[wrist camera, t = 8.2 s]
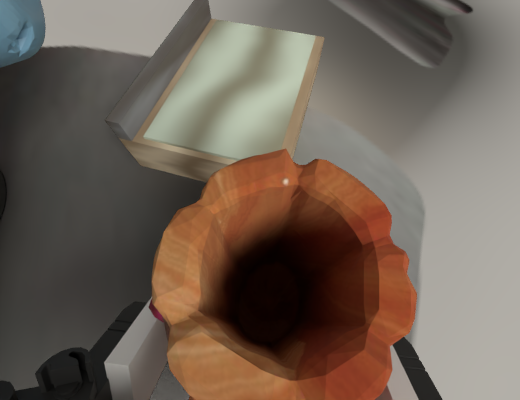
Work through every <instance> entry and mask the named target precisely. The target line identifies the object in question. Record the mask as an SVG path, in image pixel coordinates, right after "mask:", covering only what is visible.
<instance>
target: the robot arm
mask: <svg viewBox="0 0 520 400" xmlns="http://www.w3.org/2000/svg"><path fill="white" fill-rule="evenodd" d="M44 38H45V18H44V13H43V8H42V5H41V1H40V0H0V68H1V67H4V66H7V65H10V64H13V63H17V62H20V61H23V60H26V59H28V58H30V57H32V56H33V55H35V54H36V53H37V52H38V51H39V49H40V48H41V46H42V44H43V42H44ZM5 199H6V186H5V181H4V178H3V176H2V174H1V172H0V218H1V215H2V212H3V209H4V205H5ZM151 299H152V297H151ZM151 299H150V300H149V301H148V303H143V302H134V303H132V304H131V305H130V306H128V307H127V308H125V309H124V310H123V311H122V312H121V313H120V315H119V316H118V317H117V318H116V320H115V322H113V323H112V324H111V326H110V327H109V328H108V331H106V332H105V333H104V334H103V335H102V337H101V338H100V339H99V340H98V341H97V343H96V344H95V345H94V346H93V348H92V349H91V350H90V351H89V352H88V350H86V349H84V348H81V347H80V348H70V349H67V350H64V351H61V352H59V353H57V354H56V355H54V356H52V357H50V358H49V359H48V360H47V361H46V362H45V363H43V364H42V365H41V367H40V368H39V369H38V371H37V372H36V373H35V375H36V378H37V381H38V384H39V387H34V388H28V389H23V390H18V391H15V390H14V387H13V386H12V384H11V383H10V382H7V381H0V400H149V399H150V397H151V394H152V392H153V390H154V388H155V386H156V384H157V382H158V380H159V377H160V375H161V373H162V371H163V369H164V367H165V365H166V363H167V360H168V358H167V348H168V340H167V335H166V330H165V325H164V323H163V322H162V321H160V320H158V319H157V318H155V317H154V315H153V314H152V312H151V311H150V309H149V308H148V307H149V304H150V301H151ZM390 351H391V360H392V369H393V370H392V373H391V376H390V378H389V381H388V383H387V385H386V387H385V389H384V391H383V392H382V394H381V395H380V396H379V397H377V398H376V399H375V400H442V398H441V396H440V395H439V393H438V391H437V389H436V387H435V385H434V384H433V382H432V380H431V378H430V377H429V375H428V373H427V372H426V371H425V368H424V366H423V364H422V362H421V361H420V360H419V357H418V355H417V354H416V352H415V350H414V348H413V346H412V345H411V344H410V343H409V342H408V341H407V340H406V339H405V338H404V337H403V338H401V339H400V340H399V341H397V342H396V343H394V344H393V345H391V346H390Z"/></svg>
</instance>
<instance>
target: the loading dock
mask: <svg viewBox="0 0 520 400" xmlns="http://www.w3.org/2000/svg"><path fill="white" fill-rule="evenodd" d="M323 42H324V37H319V36H314V35H308V34H302V33H295V32H289V31H283V30H277V29H270V28H265V27H259V26H252V25H247V24H241V23H234V22H228V21H222V20H215V19H211V14H210V8H209V2H208V0H194V1H193V2H192V4H191V5H190V6H189V8H188V9H187V11H186V12H185V13H184V15H183V16H182V17H181V19H180V20H179V21H178V23H177V24H176V25H175V27H174V28H173V30H172V31H171V32H170V33H169V35H168V36H167V37H166V39H165V40H164V42H163V43H162V44H161V45H160V47H159V48H158V50H157V51H156V52H155V54H154V55H153V56H152V58H151V59H150V60H149V62H148V63H147V64H146V66H145V67H144V68H143V70H142V71H141V72H140V74H139V75H138V76H137V78H136V79H135V80H134V82H133V83H132V84H131V86H130V87H129V88H128V90H127V91H126V92H125V94H124V95H123V96H122V98H121V99H120V100H119V102H118V103H117V105H116V106H115V107H114V109H113V110H112V111H111V113H110V114H109V115H108V117H107V118H106V119H105V121H106V123H107V124H108V125H109V126H110V128H111V129H112V130H113V131H114V133H115V134H116V135H117V136H118V138H119V139H120V140H121V142H122V143H123V144H124V145H125V147H126V148H127V149H128V150H129V152H130V153H131V154H132V155H133V157H134V158H135V159H136V160H137V162H138V163H139V164H140V166H144V167H148V168H152V169H156V170H160V171H164V172H168V173H172V174H176V175H180V176H184V177H188V178H191V179H195V180H199V181H203V182H207V181H208V180H209V178H210V176H211V175H212V174H213V173H214V172H216V171H218V170H220V169H222V168H224V167H226V166H228V165H230V164H232V163H234V162H236V161H239V160H241V159H244V158H248V157H251V156H255V155H262V154H266V153H270V152H274V151H278V150H282V149H285V148H286V149H287V151H288V153H289V155H290V157H291V158H292V159H293V156H294V152H295V148H296V145H297V141H298V138H299V134H300V130H301V127H302V123H303V120H304V116H305V112H306V109H307V105H308V102H309V97H310V94H311V91H312V87H313V84H314V80H315V76H316V73H317V68H318V64H319V59H320V55H321V51H322V46H323Z"/></svg>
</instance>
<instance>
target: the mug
mask: <svg viewBox="0 0 520 400" xmlns="http://www.w3.org/2000/svg"><path fill="white" fill-rule="evenodd" d="M391 224H392V219H391V214H390V212H389V211H388V209H387V207H386V205H385V204H384V203H383V202H382V201H381V200H380V199H379V198H378V197H377V196H376V195H375V194H374V193H373V192H372V191H371V190H370V189H369V188H368V187H366V186H365V185H364V184H363V183H362V182H360V181H359V180H358V179H357V178H355V177H354V176H352V175H351V174H349V173H348V172H346V171H344V170H343V169H341V168H339V167H337V166H336V165H334V164H332V163H331V162H329V161H327V160H322V159H315V160H313V161H311V162H310V163H308V164H307V165H298V164H296V163H295V162H293V160H292V158H291V157H290V155H289V153H288V151H287V149H286V148H285V149H282V150H278V151H274V152H270V153H266V154H262V155H255V156H251V157H248V158H244V159H241V160H239V161H236V162H234V163H232V164H230V165H228V166H226V167H224V168H222V169H220V170H218V171H216V172H214V173H213V174H212V175H211V176H210V178H209V180H208V181H207V183H206V185H205V186H204V188H203V190H202V193H201V197H200V199H199V200H198V201H197V202H196V203H194V204H191V205H189V206H186V207H184V208H181V209H179V210H178V211H177V212H176V213H175V215H174V216H173V218H172V219H171V221H170V223H169V224H168V226H167V228H166V229H165V231H164V233H163V237H162V239H161V241H160V243H159V245H158V248H157V250H156V253H155V257H154V262H153V270H152V299H151V301H150V304H149V307H148V308H149V309H150V311H151V312H152V314H153V315H154V317H155V318H157V319H158V320H160V321H162V322H163V323H164V325H165V330H166V335H167V340H168V348H167V358H168V363H169V368H170V371H171V372H172V373H173V375H174V376H175V377H176V378H177V380H178V381H179V382H180V384H181V385H182V386H183V388H184V389H185V390H186V391H187V393H188V394H189V395H190V397H189V400H375V399H376V398H377V397H379V396H380V395H381V394H382V392H383V391H384V389H385V387H386V385H387V383H388V381H389V378H390V376H391V373H392V370H393V369H392V360H391V351H390V346H391V345H393V344H394V343H396V342H397V341H399V340H400V339H401V338H403V337H404V336H406V335H407V334H408V333H409V332H410V330H411V327H412V325H413V322H414V319H415V310H416V299H417V293H416V291H415V289H414V287H413V285H412V283H411V281H410V279H409V277H408V275H407V270H408V265H409V258H408V256H407V254H406V252H405V251H404V250H402V249H400V248H399V247H397V246H396V245H394V244H393V241H392V239H391V237H390V235H389V234H390V229H391Z"/></svg>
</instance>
